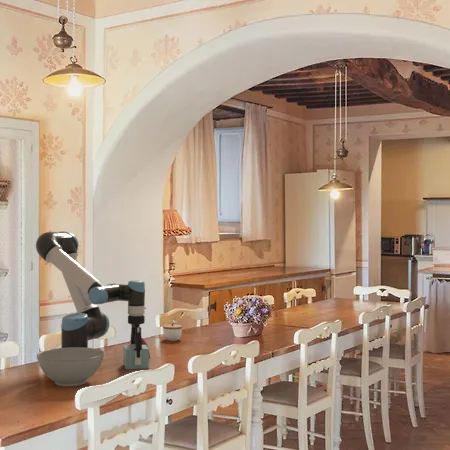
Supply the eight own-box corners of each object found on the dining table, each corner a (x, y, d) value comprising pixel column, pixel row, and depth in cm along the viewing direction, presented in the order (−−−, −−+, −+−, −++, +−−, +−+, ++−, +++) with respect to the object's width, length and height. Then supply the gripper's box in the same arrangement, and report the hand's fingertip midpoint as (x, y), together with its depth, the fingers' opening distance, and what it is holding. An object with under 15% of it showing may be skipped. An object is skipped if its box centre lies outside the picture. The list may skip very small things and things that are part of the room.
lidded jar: (179, 341, 375) (179, 324, 375) (160, 341, 377) (160, 323, 377) (184, 338, 386) (184, 321, 386) (165, 337, 388) (166, 321, 388)
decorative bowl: (108, 375, 294) (108, 347, 294) (98, 391, 267) (99, 360, 267) (44, 375, 293) (45, 347, 293) (29, 391, 266) (29, 360, 266)
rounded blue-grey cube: (125, 369, 306) (126, 349, 306) (123, 364, 316) (123, 345, 316) (148, 368, 309) (148, 348, 308) (145, 363, 318) (145, 344, 318)
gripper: (148, 318, 301) (148, 366, 301) (140, 310, 325) (140, 355, 325) (131, 319, 299) (131, 367, 299) (124, 311, 323) (124, 356, 323)
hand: (135, 361), depth 312 cm, fingers open, 13 cm apart
